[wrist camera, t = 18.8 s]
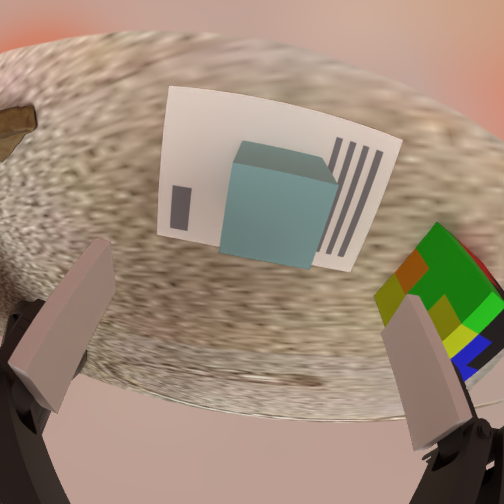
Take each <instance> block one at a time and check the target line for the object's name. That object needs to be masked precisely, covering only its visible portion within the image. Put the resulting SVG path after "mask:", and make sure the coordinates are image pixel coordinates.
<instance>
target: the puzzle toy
mask: <svg viewBox="0 0 504 504" xmlns="http://www.w3.org/2000/svg"><path fill="white" fill-rule="evenodd" d="M406 294H411V295H417V296H419V297H420V299H421V301H422V303H423V304H424V306H425V308H426V310H427V312H428V314H429V316H430V318H431V320H432V322H433V324H434V326H435V328H436V330H437V332H438V334H439V336H440V338H441V341H442V343H443V345H444V347H445V349H446V351H447V354H448V356H449V358H450V360H451V361H453V362H454V364H455V365H456V366H457V368H458V369H459V371H460V373H461V375H462V378H463V381H466V380H467V379H468V378H470V377H471V376H472V375H473V374H475V373H476V372H477V371H478V370H479V369H481V368H482V367H483V366H484V365H485V364H486V363H488V362H489V361H490V360H491V359H492V358H493V357H494V356H496V355H497V354H498V353H499V352H500V351H501V350H502V349H503V348H504V291H503V289H502V288H501V287H500V285H499V284H498V282H497V281H496V280H495V278H494V277H493V276H492V274H491V273H490V272H489V271H488V269H487V268H486V267H485V265H484V264H483V263H482V262H481V261H480V260H479V259H478V258H477V257H476V256H475V255H474V254H473V253H472V252H471V251H469V250H468V249H467V248H466V247H465V246H464V245H463V244H462V243H461V242H460V241H459V240H457V239H456V238H455V237H454V236H453V235H452V234H451V233H450V232H448V231H447V230H446V229H445V228H444V227H443V226H441V225H440V224H439V223H438V222H436V223H435V225H434V226H433V227H432V229H431V230H430V231H429V232H428V234H427V235H426V236H425V237H424V239H423V240H422V241H421V242H420V244H419V245H418V246H417V247H416V249H415V250H414V251H413V252H412V253H411V255H410V256H409V257H408V258H407V259H406V260H405V262H404V263H403V264H402V265H401V266H400V267H399V269H398V270H397V271H396V272H395V273H394V274H393V275H392V276H391V278H390V279H389V280H388V281H387V282H386V283H385V284H384V285H383V286H382V287H381V289H380V290H379V291H378V292H377V293H376V294H375V295H374V298H375V301H376V303H377V306H378V309H379V312H380V315H381V317H382V320H383V323H384V326H385V327H386V326H387V324H388V323H389V321H390V320H391V318H392V317H393V315H394V314H395V312H396V310H397V309H398V307H399V306H400V304H401V303H402V301H403V299H404V298H405V296H406Z"/></svg>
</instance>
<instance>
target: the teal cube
mask: <svg viewBox="0 0 504 504" xmlns="http://www.w3.org/2000/svg"><path fill="white" fill-rule="evenodd" d="M338 186H339V185H338V183H337V182H336V180H335V178H334V177H333V175H332V173H331V172H330V170H329V168H328V167H327V165H326V163H325V162H324V160H323V158H322V157H318V156H314V155H310V154H306V153H301V152H297V151H293V150H288V149H284V148H279V147H274V146H270V145H265V144H260V143H254V142H249V141H242V143H241V145H240V147H239V150H238V152H237V154H236V156H235V158H234V161H233V163H232V169H231V175H230V181H229V187H228V194H227V200H226V206H225V213H224V219H223V226H222V232H221V239H220V246H219V253H222V254H228V255H233V256H238V257H244V258H249V259H254V260H260V261H265V262H270V263H276V264H281V265H287V266H292V267H298V268H303V269H309V270H310V267H311V264H312V262H313V259H314V256H315V253H316V251H317V248H318V245H319V242H320V239H321V237H322V234H323V231H324V228H325V225H326V222H327V219H328V216H329V213H330V210H331V207H332V204H333V201H334V198H335V195H336V192H337V189H338Z"/></svg>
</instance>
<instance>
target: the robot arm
mask: <svg viewBox="0 0 504 504" xmlns="http://www.w3.org/2000/svg"><path fill="white" fill-rule="evenodd" d="M115 293H116V284H115V276H114V268H113V259H112V249H111V241H107V240H102V239H97V238H95V239H94V240H93V242H92V243H91V244H90V245H89V246H88V247H87V249H86V250H85V251H84V252H83V254H82V255H81V256H80V257H79V258H78V260H77V261H76V262H75V263H74V265H73V266H72V267H71V269H70V270H69V271H68V272H67V274H66V275H65V276H64V278H63V279H62V280H61V282H60V283H59V284H58V286H57V287H56V288H55V290H54V291H53V293H52V294H51V295H50V297H49V298H48V299H47V301H44V300H41V299H37V300H36V301H35V302H33V303H30V302H19V303H18V304H17V305H16V306H15V307H14V309H13V310H12V312H11V313H10V315H9V318H8V321H7V325H6V328H5V332H4V336H3V340H2V344H1V347H0V504H1V503H2V504H70V502H69V500H68V498H67V496H66V494H65V492H64V489H63V487H62V485H61V483H60V481H59V479H58V476H57V474H56V472H55V469H54V467H53V464H52V462H51V459H50V457H49V454H48V451H47V449H46V446H45V443H44V441H43V438H42V433H43V430H44V428H45V425H46V423H47V420H48V418H49V415H50V413H51V411H53V412H55V413H57V414H58V411H59V409H60V406H61V404H62V401H63V399H64V396H65V394H66V392H67V389H68V387H69V385H70V383H71V380H73V379H74V378H75V377H76V376H77V375H78V374H79V373H80V372H81V370H82V368H83V366H84V364H85V362H86V359H87V355H86V351H85V350H86V348H87V346H88V344H89V342H90V340H91V338H92V336H93V334H94V332H95V330H96V328H97V326H98V324H99V322H100V320H101V318H102V316H103V315H104V313H105V311H106V309H107V307H108V305H109V303H110V302H111V300H112V298H113V296H114V294H115ZM381 336H382V338H383V341H384V344H385V347H386V351H387V354H388V357H389V360H390V363H391V366H392V370H393V373H394V376H395V380H396V383H397V386H398V390H399V393H400V397H401V401H402V404H403V408H404V412H405V416H406V420H407V424H408V427H409V432H410V436H411V441H412V445H413V450H414V452H416V451H420V450H425V449H428V448H430V447H431V446H433V445H434V444H436V443H437V445H438V447H437V448H436V449H434V450H433V451H431V452H429V453H428V454H426V455H424V457H423V458H422V460H425V459H427V458H428V457H430V456H431V458H430V459H428V460H427V461H426V462H427V463H428V465H427V468H426V470H425V472H424V474H423V477H422V479H421V481H420V483H419V485H418V487H417V489H416V491H415V493H414V495H413V497H412V499H411V501H410V503H409V504H504V426H503V427H502V428H500V429H496V428H492V427H491V426H490V424H489V422H487V421H486V420H485V419H483V418H480V419H478V417H477V414H476V412H475V409H474V406H473V403H472V401H471V398H470V395H469V393H468V390H467V389H466V385H465V383H464V381H463V378H462V375H461V373H460V371H459V369H458V368H457V366H456V365H455V364H454V362H453V361H451V360H450V358H449V356H448V354H447V351H446V349H445V347H444V345H443V343H442V341H441V338H440V336H439V334H438V332H437V330H436V328H435V326H434V324H433V322H432V320H431V318H430V316H429V314H428V312H427V310H426V308H425V306H424V304H423V303H422V301H421V299H420V297H419V296H417V295H411V294H406V296H405V298H404V299H403V301H402V303H401V304H400V306H399V307H398V309H397V310H396V312H395V314H394V315H393V317H392V318H391V320H390V321H389V323H388V324H387V326H386V327H385V329H384V330H383V332H382V333H381ZM494 460H495V461H494ZM492 461H494V466H493V467H492V468H490V469H488V470H486V465H487V464H489V463H491V462H492Z"/></svg>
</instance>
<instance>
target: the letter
mask: <svg viewBox="0 0 504 504" xmlns="http://www.w3.org/2000/svg"><path fill="white" fill-rule="evenodd" d="M242 141H249V142H254V143H260V144H265V145H270V146H274V147H279V148H284V149H288V150H293V151H297V152H301V153H306V154H310V155H314V156H318V157H322V158H323V160H324V162H325V163H326V165H327V167H328V168H329V170H330V172H331V173H332V175H333V177H334V178H335V180H336V182H337V183H338V185H339V186H338V189H337V192H336V195H335V198H334V201H333V204H332V207H331V210H330V213H329V216H328V219H327V222H326V225H325V228H324V231H323V234H322V237H321V239H320V242H319V245H318V248H317V251H316V253H315V256H314V259H313V262H312V264H311V265H315V266H320V267H325V268H330V269H335V270H340V271H345V272H350V271H351V269H352V267H353V265H354V263H355V261H356V259H357V256H358V254H359V252H360V250H361V247H362V245H363V243H364V241H365V238H366V236H367V234H368V231H369V229H370V227H371V224H372V222H373V219H374V217H375V215H376V212H377V210H378V207H379V205H380V202H381V200H382V197H383V194H384V192H385V189H386V187H387V184H388V181H389V178H390V176H391V173H392V170H393V167H394V165H395V162H396V159H397V156H398V153H399V150H400V147H401V144H402V141H403V140H402V139H399V138H397V137H394V136H392V135H389V134H387V133H384V132H381V131H378V130H376V129H373V128H370V127H367V126H364V125H361V124H358V123H355V122H352V121H349V120H346V119H343V118H340V117H336V116H333V115H330V114H326V113H323V112H319V111H315V110H312V109H308V108H304V107H300V106H296V105H292V104H287V103H283V102H279V101H274V100H269V99H264V98H259V97H254V96H249V95H243V94H237V93H231V92H224V91H217V90H209V89H201V88H192V87H182V86H169V91H168V98H167V106H166V114H165V122H164V131H163V141H162V152H161V164H160V178H159V195H158V219H157V235H161V236H166V237H171V238H177V239H182V240H187V241H192V242H197V243H202V244H207V245H212V246H217V247H219V246H220V239H221V232H222V226H223V219H224V213H225V206H226V200H227V194H228V187H229V181H230V175H231V169H232V163H233V161H234V158H235V156H236V154H237V152H238V150H239V147H240V145H241V143H242Z"/></svg>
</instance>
